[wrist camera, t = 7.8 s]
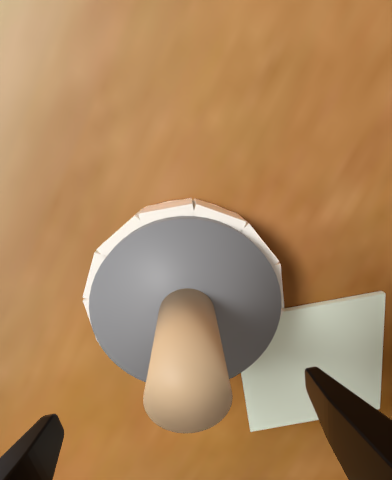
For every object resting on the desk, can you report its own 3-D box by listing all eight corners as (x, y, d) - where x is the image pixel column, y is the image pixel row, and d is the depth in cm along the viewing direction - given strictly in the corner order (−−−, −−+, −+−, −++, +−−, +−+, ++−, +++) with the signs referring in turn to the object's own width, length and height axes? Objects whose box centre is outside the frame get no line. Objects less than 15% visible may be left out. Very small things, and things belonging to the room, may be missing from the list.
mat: (381, 290, 19) (385, 293, 19) (376, 404, 23) (379, 408, 22) (232, 317, 20) (233, 320, 19) (249, 427, 23) (250, 431, 23)
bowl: (256, 184, 17) (274, 188, 13) (271, 332, 20) (289, 365, 17) (82, 216, 17) (57, 228, 13) (127, 358, 20) (116, 396, 17)
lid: (266, 199, 13) (337, 226, 7) (282, 360, 17) (340, 476, 10) (70, 235, 14) (-28, 292, 7) (122, 389, 17) (84, 521, 10)
